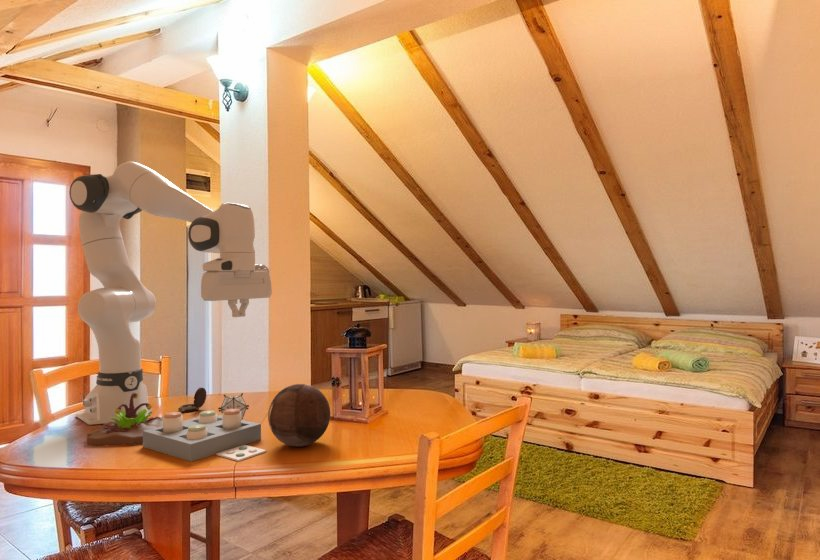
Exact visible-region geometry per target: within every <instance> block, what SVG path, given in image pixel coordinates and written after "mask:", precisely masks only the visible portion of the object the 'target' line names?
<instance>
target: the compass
mask: <svg viewBox="0 0 820 560" xmlns="http://www.w3.org/2000/svg"><path fill="white" fill-rule="evenodd" d="M197 388H198V389H197V390H196V391H195V393H194V396H193V403H187V404H186V403H185V404H183V405H180V407H178V408H177V409H178V410H177V412H181V413H192V411H193V412H196V410H197V411H199V410H200V408H202V407H203V406H204V404H205V403H206V399H207V391H206V389H205V388H204V387H200V386H199V387H197Z"/></svg>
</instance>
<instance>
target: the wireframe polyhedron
mask: <svg viewBox="0 0 820 560" xmlns="http://www.w3.org/2000/svg"><path fill="white" fill-rule="evenodd" d="M243 395H244V393H243V392H242V393H241V394H240V395H226V394H223V398H224V399H223V401H222V403H221V406H220V407H218V408H217V409H218V412H219V413H221V414H222V413H224V412H223V411H224V410H227V409H240V411H241V420H244V416H245V413H246V410H249V407H250V405H249V404H246V402H245V399H244V398H243Z"/></svg>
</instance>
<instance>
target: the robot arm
mask: <svg viewBox="0 0 820 560" xmlns="http://www.w3.org/2000/svg"><path fill="white" fill-rule="evenodd" d="M69 199H70V200H71V201H70V202H71V203H72V205H73V207H75V208H76V209H77V210H79V211H82V212H81V213H80V214H79V216H78V229H79V236H80V237H79V238H80V242H81V246H82V251H83V255H84V258H85V262H86V266H87V271H88V272H89V274H91V275H92V276H93V277H94V278H96V279H97V280H98V281H99V282H100V283H101V285H102V286H103V287H100V288H95V289H93V290H89V291H87V292H85V293H83V294H82V295H81V297H80V298H79V300H78V303H77V313H78V315H79V316H78V317H79V318H80V319H81V320H82V322H84V323H85V324H86V325H88V327H90V329H91V331H92V333H93V334H94V337H95V340H96V343H97V348H98V365H99V369H98V370H99V371H98V372H96V382H95V383H96V385H95V386H94V387H93V388H92V390H91V391H90V392H89V393H88V394H86V396H85V398H84V399H83V400H82V407H83V408H84V410H81V411H78V412H76V414H75V417H76V418H78V419H79V420H81V421H82V422H84V423H85V424H87V425H88V426H91V425H101V424H102V425H104V424H106V423H109V422H114V421H115V420H112V419H111V418H110V417H114V418H116V419H118V420H120V418H119V417H118V416H116V414H117V413H116V412H115V410H116V409H117V408H118V407H119V406H121V405H122V404H125V405H127V406H128V408H129V404H130V399H131V398H130V397H131V395H132V393H137V394H138V397H137V398H133V401H134V402H133V403H134V409H135V408H136V407H137V406H139V405H140V404H142V403H149V398H148V396H149V395H148V389H147V385H146V384H144V383H143V381H144V372H143V371H144V370H143V368H142V350H141V349H142V348H141V347H142V346H141V343H140V341H139V339H137V338H135V337H134V336H133V334H132V332H131V329H130V325H129V323H131V324H132V323H137V322H140V321H143V320H145V319H147V318H149V317H151V316H152V315H153V314H154V313H155V311H156V309H157V299H156V296H155V295H154V293H153V292H152V291H151V290H150V289H148V288H147V287H146V286H145V285H144V284H143V283H142V282H141V280H140V279H139V277H138V275H137V274H136V273H135V270H134V269H133V266H132V264H131V262H130V259H129V256H128V251H127V249H126V244H125V242H124V238H123V235H122V231H121V227H120V224H121V223H120V222H121V219H125V220H130V219H131V218H133V217H134V216H136V215H137V214H139V213H140V212H142V211H143V212H145V213H147V214H150V215H153V216H156V217H162V218H168V219H173V220H174V219H175V220H180V221H181V220H182V221H185V222H189V223H190V225H189V227H188V232H187V235H188V236H187V237H188V240H189V241H188V242H189V243H190V246H191V247H192V248H193V249H194V250H196V251H198V252H203V253H210V254H211V253H212V254H219V257H218V258H217V257H216V258H215V259H212V260H210V261H209V260H208V261H207V262H203V264H202V270H203V272H204V273H203V274H202V276H201V283H200V295H201V298H202V300H203V302H215V301H217V302H218V301H227V305H228V307H229V308H230V310H231V317H232V318H242V317H246V310H247V308H248V306H249V303H250V300H252V299H270V298H271V296H272V294H273V290H272V289H273V287H272V281H271V276H270V268H268V266H266V265H265V264H256V251H255V247H254V241H255V237H256V236H255V235H256V234H255V233H256V231H255V229H256V228H255V218H254V213H253V211H252V208H251V207H250V206H249V205H246V204H241V203H235V202H223V203H221V204H220V206H219V207H218V208H216V210H215V209H212V208H211V207H209V206H208V205H206V204H204V203H202V202H201V201H199V200H197V199H195V198H194V197H193V196H192V195H189V194H188V193H187V192H185V191H184V190H182V189H181V188H179V187H178V186H177V185H176V184H174V183H172V182H171V181H169V180H168V179H167V178H165V176H162V175H161V174H160V173H158V172H157V171H156V170H153V169H151V168H150V167H148V166H146V165H143V164H141V163H140V162H135V161H126V162H122V163H121V164H119V165H118V166H117V167H116V168H115V170H114V171H113V173H112V175H103V174H101V173H99V174H98V173H97V174H86V175H81V176H77V177H75V178H74V180H73V181H72V183H70V186H69ZM238 300H239V304H240V306H239V308H238V306H237V304H238ZM144 409H146V410H147V412H146V414H145V416H147V415H148V414H150V413H152V412H153V408H151V410H148V409H147V408H146V405H143V406H141V407H140V408H139V409H138V410H137V412H136V413H137V414H138V413H139V412H140V411H142V410H144ZM121 411H122V412H126V411H125V407H124V406H122V407H121ZM118 415H120V413H118Z"/></svg>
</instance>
